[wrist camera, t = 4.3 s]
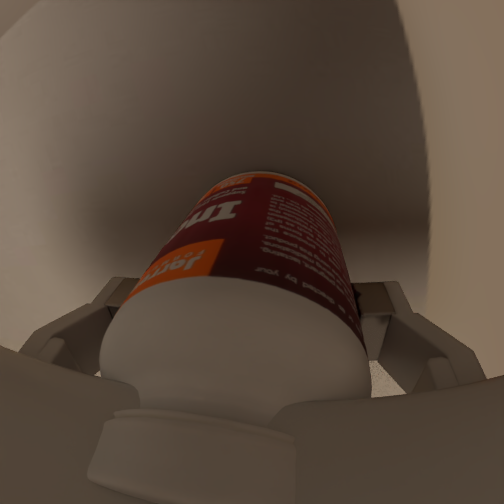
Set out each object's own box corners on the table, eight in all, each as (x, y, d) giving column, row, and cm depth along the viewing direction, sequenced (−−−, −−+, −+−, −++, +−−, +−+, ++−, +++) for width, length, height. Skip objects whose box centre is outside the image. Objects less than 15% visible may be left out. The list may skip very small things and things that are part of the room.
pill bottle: (237, 137, 11) (9, 383, 1) (363, 223, 12) (464, 501, 3) (169, 253, 14) (43, 474, 4) (279, 317, 15) (257, 547, 5)
